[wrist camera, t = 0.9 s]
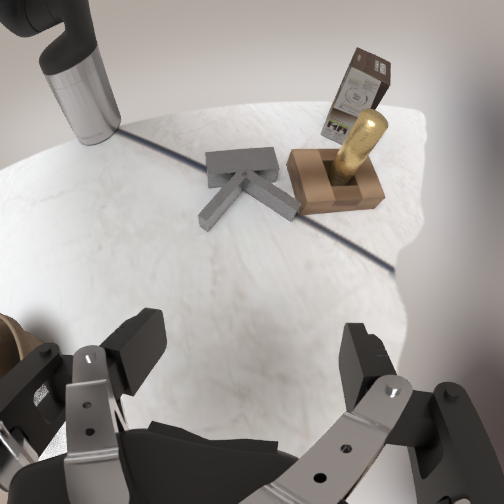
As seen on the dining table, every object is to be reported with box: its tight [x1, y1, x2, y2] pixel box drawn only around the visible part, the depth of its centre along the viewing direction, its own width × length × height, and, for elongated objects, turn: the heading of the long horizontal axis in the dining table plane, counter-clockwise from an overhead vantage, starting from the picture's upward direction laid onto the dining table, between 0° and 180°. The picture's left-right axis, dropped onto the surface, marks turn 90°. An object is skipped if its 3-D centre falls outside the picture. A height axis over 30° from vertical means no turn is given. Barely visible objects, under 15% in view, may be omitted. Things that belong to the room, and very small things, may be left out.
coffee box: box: [321, 47, 391, 145], centre depth 40 cm, size 9×6×16 cm
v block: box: [198, 147, 302, 232], centre depth 39 cm, size 11×14×4 cm
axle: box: [326, 108, 388, 187], centre depth 35 cm, size 4×4×16 cm
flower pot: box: [0, 313, 45, 380], centre depth 24 cm, size 12×11×10 cm
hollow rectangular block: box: [286, 149, 385, 215], centre depth 41 cm, size 9×13×4 cm
